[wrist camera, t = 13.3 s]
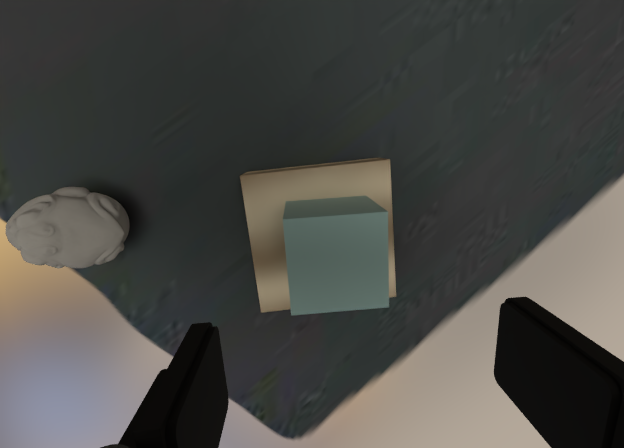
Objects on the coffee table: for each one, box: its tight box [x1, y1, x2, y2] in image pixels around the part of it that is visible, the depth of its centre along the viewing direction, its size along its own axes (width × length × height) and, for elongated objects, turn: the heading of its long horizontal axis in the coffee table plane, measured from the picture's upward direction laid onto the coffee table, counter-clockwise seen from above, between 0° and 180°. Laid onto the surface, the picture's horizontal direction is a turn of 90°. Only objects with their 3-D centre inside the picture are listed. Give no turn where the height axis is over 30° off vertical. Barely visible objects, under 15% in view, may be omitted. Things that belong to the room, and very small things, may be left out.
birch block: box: [240, 158, 396, 313], centre depth 27 cm, size 11×11×4 cm
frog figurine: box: [6, 187, 130, 268], centre depth 24 cm, size 6×7×7 cm
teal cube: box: [283, 196, 389, 315], centre depth 22 cm, size 6×6×6 cm
